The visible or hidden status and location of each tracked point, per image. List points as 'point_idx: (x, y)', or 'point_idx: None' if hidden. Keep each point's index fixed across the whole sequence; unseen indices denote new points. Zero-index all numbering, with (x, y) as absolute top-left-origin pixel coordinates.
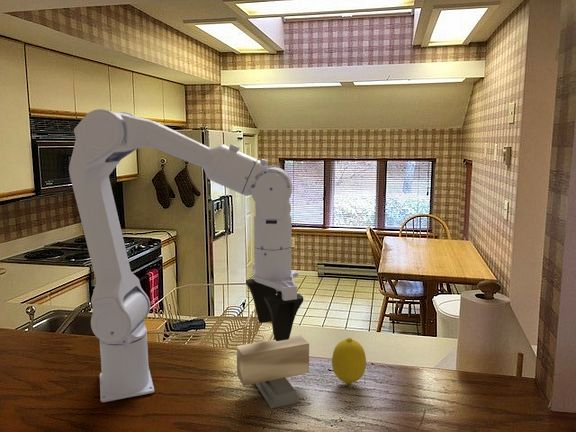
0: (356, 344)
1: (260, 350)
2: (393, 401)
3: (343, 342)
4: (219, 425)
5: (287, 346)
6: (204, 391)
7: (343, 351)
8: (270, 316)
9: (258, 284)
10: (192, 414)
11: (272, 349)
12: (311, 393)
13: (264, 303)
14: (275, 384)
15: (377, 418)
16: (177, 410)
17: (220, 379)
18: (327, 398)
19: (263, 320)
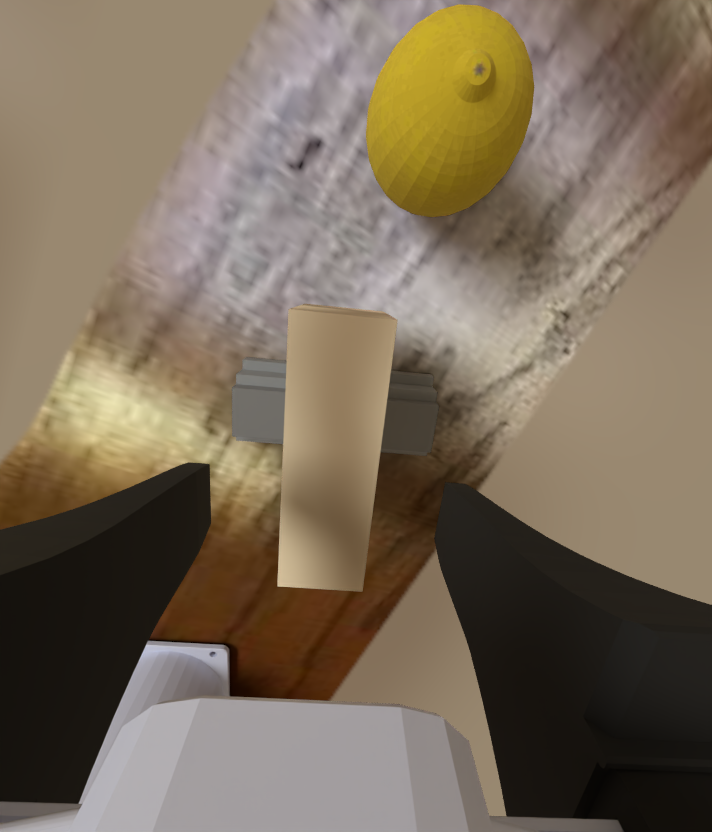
0: (512, 56)
1: (358, 530)
2: (595, 84)
3: (461, 123)
4: (417, 565)
5: (377, 424)
6: (264, 555)
7: (489, 165)
8: (198, 485)
9: (39, 795)
10: (349, 598)
11: (371, 488)
12: (407, 316)
13: (149, 573)
14: (396, 443)
15: (624, 211)
16: (319, 617)
17: (219, 507)
18: (456, 287)
19: (207, 514)
